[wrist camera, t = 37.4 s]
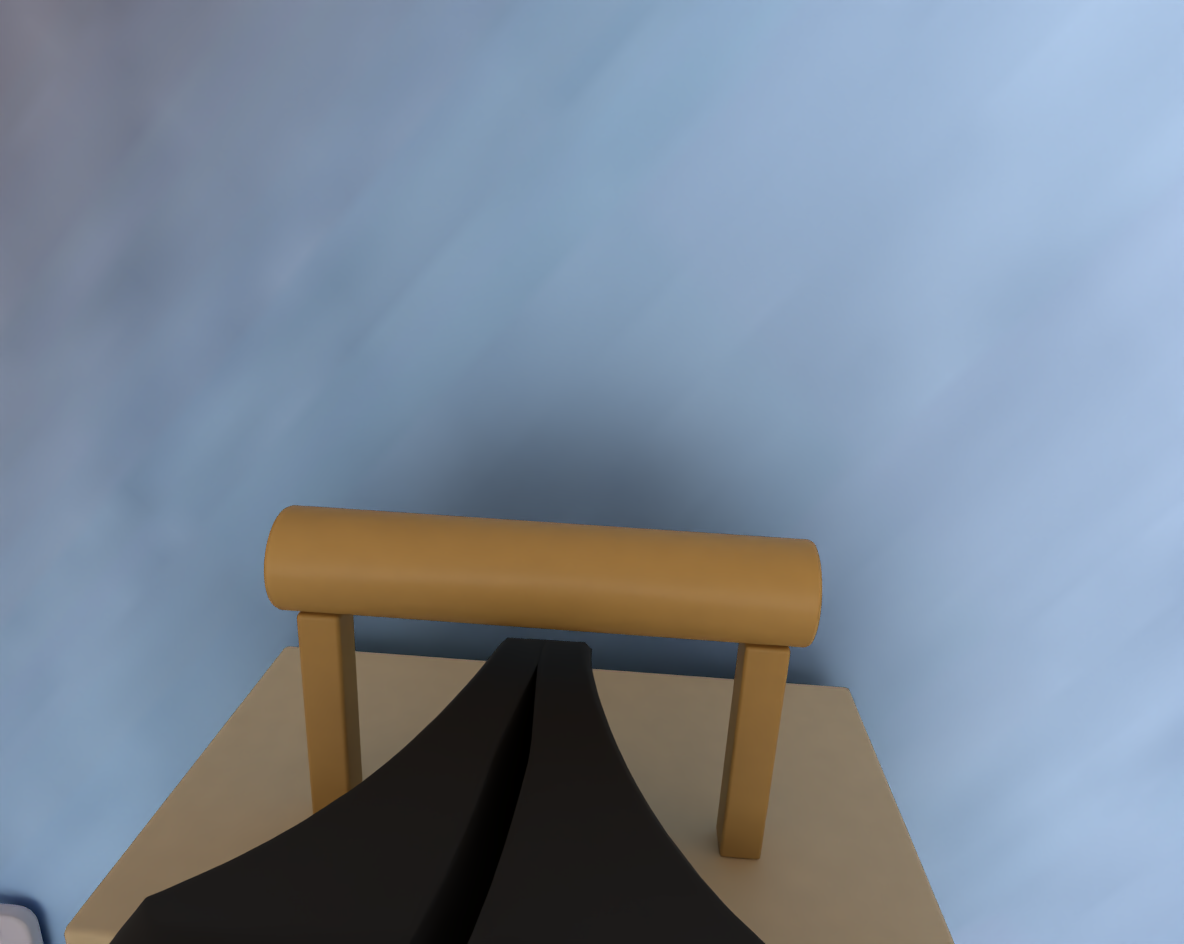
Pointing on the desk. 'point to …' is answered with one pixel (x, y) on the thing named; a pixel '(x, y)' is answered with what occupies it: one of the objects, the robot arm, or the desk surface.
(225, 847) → the drawer
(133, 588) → the desk surface
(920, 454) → the desk surface
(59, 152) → the desk surface
